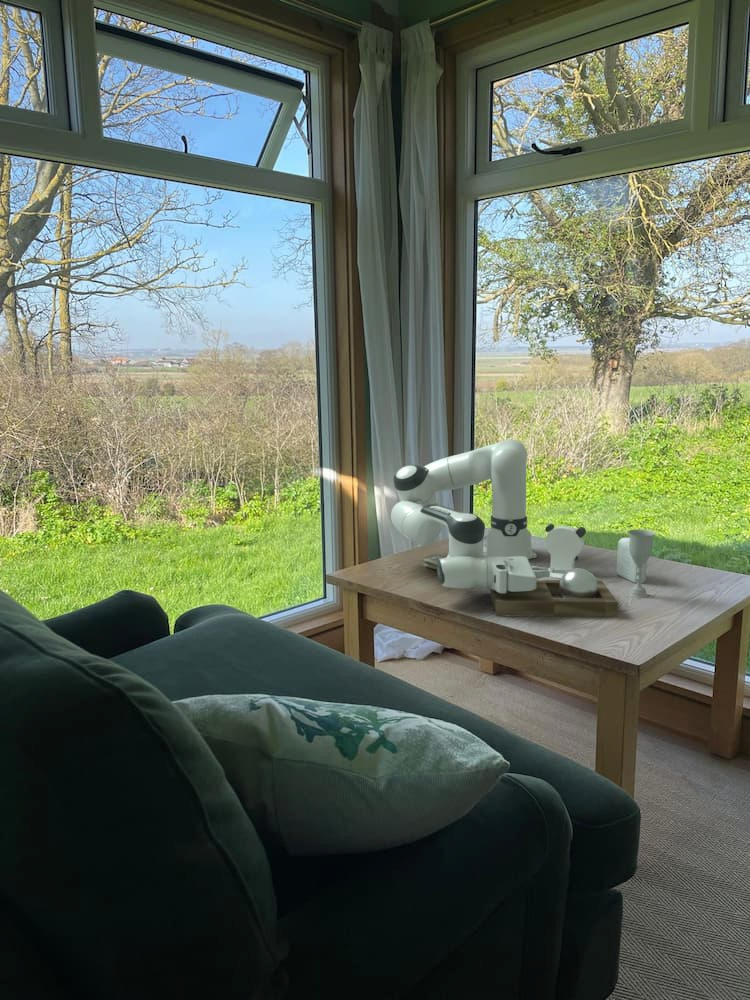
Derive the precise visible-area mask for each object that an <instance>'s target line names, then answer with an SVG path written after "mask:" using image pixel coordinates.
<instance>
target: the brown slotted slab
mask: <svg viewBox="0 0 750 1000" xmlns="http://www.w3.org/2000/svg"><path fill="white" fill-rule="evenodd" d="M560 580H561V579H537V585H536V589H535V590H532V591H520V592H511V591H508V590H507V593H498V592H497V591H496V590H493V589H489V592H490V598H491V601H493V602H492V605H494V606H493V609H495V610H494V612H496V614H495V616H496V615H533V616H532V617H618V610H619V609H618V608H619V607H618V604H619V602H618V600H617V599H616V597H615V596H614V595H613V593H612V592H611V590H610V589H609V588H608V587H607V585H606V584H605V583H604V581H603V580H602V579H601V580H600V579H596V581H597V584H598V590H597V594H596V596H595V598H563V596H562V595H561V592H560V588H559V584H560ZM561 597H562V598H561Z"/></svg>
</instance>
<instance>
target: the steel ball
mask: <svg viewBox="0 0 750 1000" xmlns="http://www.w3.org/2000/svg"><path fill="white" fill-rule="evenodd" d="M559 580H560V584H559V588H560V592H561V595H562V596H561V597H562V598H595V596H596V594H597V590H598V584H597V581H596V580H597V578H596V577H595V575H594V574H593V573H592V572H590V570H588V569H584V568H580V567H574V569H571V570H569V571H567V572H566V573H565V574H564V575H563V576H562V578H561V579H559Z"/></svg>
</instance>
